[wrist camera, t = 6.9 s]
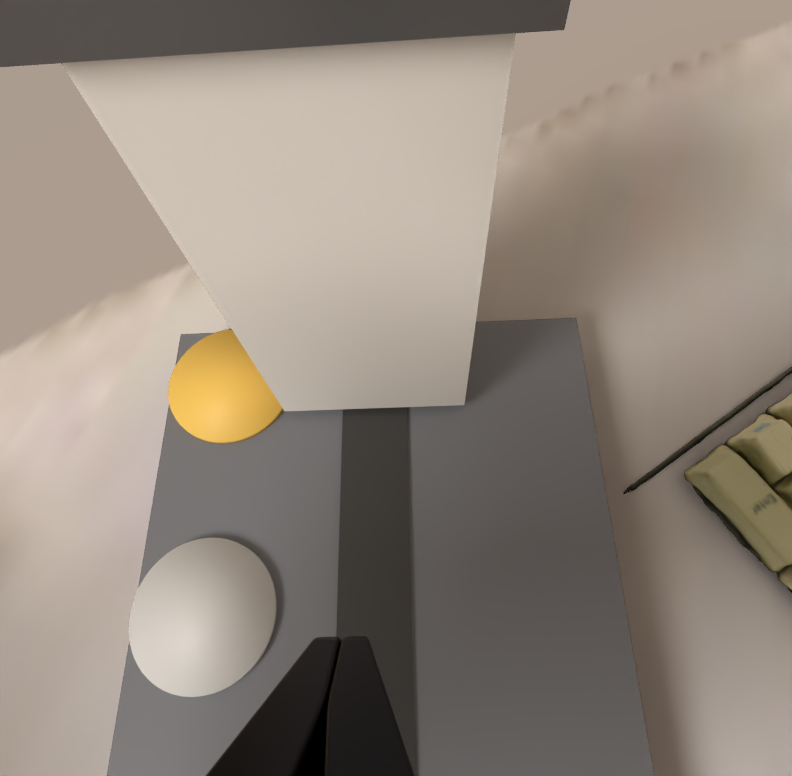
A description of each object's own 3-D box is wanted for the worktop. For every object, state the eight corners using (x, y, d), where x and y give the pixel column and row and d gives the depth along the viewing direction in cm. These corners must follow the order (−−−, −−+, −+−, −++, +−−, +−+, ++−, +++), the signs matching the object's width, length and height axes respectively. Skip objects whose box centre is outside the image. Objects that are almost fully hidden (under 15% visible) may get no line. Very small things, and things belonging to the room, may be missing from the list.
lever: (479, 418, 15) (603, -154, 4) (269, 425, 15) (-123, -94, 5) (470, 299, 17) (542, -340, 6) (279, 308, 17) (6, -286, 6)
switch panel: (724, 1350, 10) (780, 1488, 8) (55, 1320, 10) (-13, 1443, 9) (563, 329, 18) (575, 299, 17) (201, 343, 19) (180, 316, 17)
